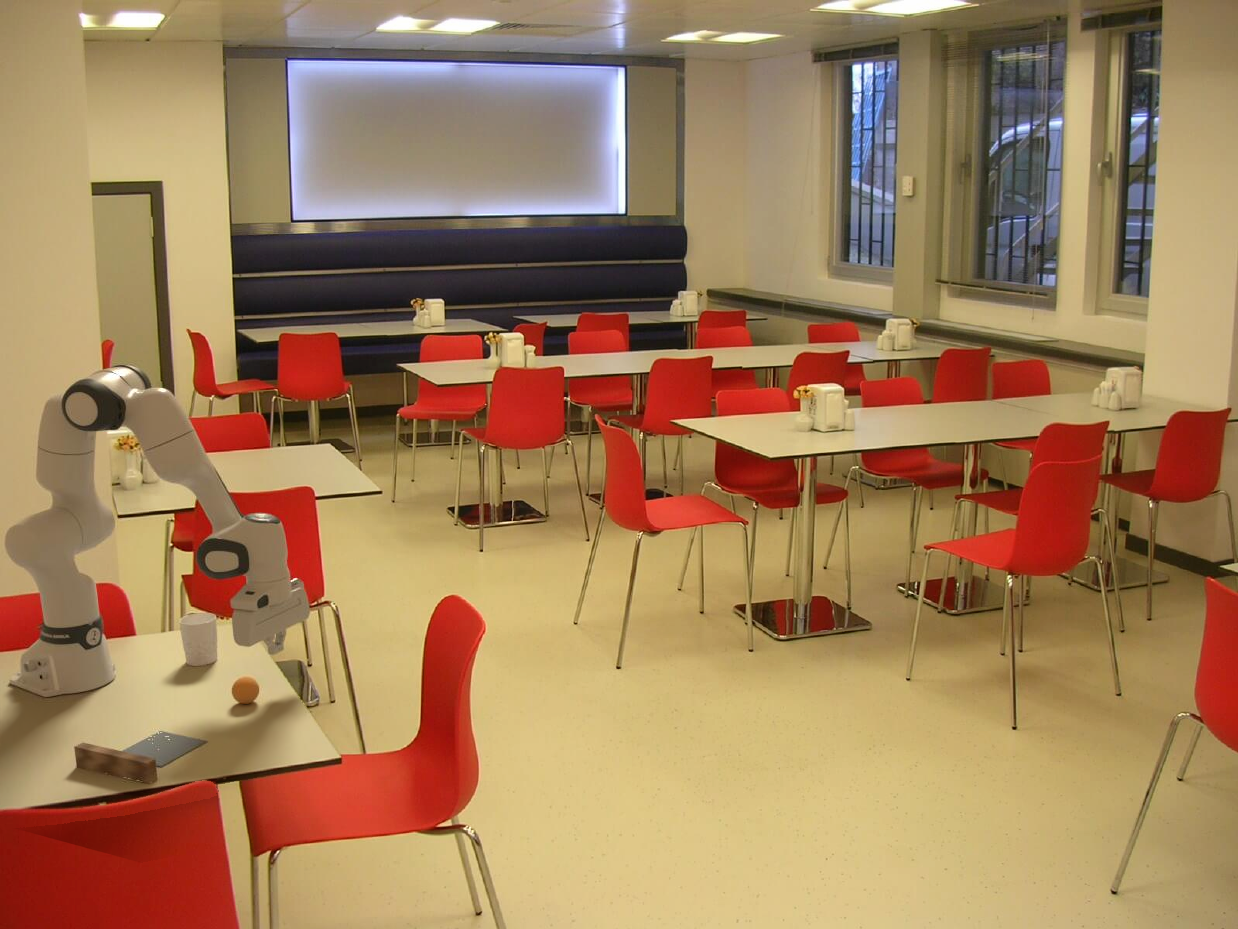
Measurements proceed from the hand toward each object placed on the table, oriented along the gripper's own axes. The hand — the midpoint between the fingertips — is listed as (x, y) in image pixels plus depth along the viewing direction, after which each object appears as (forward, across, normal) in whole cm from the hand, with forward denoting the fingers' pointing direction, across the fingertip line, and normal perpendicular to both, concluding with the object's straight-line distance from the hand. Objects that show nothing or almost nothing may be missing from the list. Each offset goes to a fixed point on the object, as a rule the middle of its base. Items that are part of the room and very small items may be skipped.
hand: (276, 652), depth 280 cm
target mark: (+8, +34, -1) cm, 34 cm away
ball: (+5, +10, -1) cm, 11 cm away
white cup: (+7, -5, -27) cm, 28 cm away
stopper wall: (+8, +44, 0) cm, 45 cm away
